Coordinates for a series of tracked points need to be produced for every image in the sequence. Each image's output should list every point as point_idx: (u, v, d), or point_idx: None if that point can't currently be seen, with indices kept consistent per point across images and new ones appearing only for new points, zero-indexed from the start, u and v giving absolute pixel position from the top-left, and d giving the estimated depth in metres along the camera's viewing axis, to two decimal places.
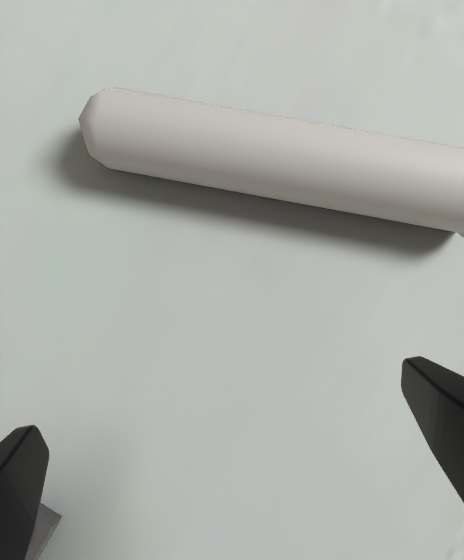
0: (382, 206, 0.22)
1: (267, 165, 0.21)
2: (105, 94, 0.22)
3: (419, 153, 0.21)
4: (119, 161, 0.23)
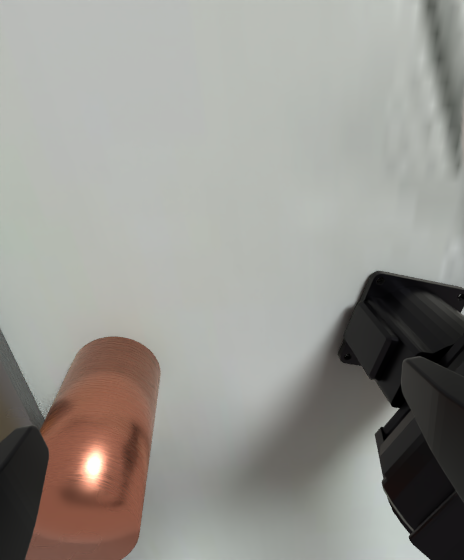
0: None
1: None
2: None
3: None
4: None
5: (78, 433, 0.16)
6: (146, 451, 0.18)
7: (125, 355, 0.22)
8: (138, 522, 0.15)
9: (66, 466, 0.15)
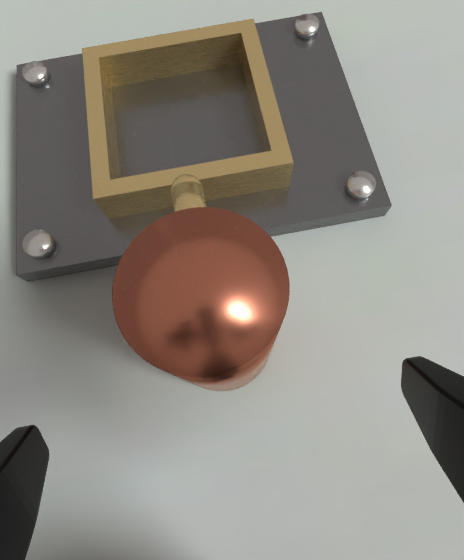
0: None
1: None
2: None
3: None
4: None
5: None
6: (224, 381, 0.14)
7: None
8: (207, 376, 0.11)
9: None
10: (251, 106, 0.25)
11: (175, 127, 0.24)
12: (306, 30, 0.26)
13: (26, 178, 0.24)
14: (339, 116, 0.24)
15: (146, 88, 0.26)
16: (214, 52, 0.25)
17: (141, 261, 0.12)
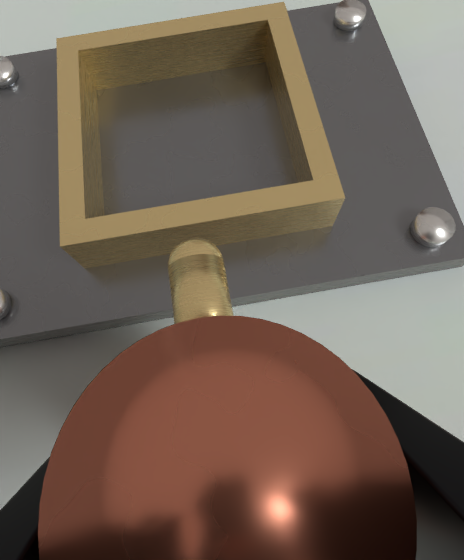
0: None
1: None
2: None
3: None
4: None
5: None
6: None
7: None
8: None
9: None
10: (279, 117, 0.19)
11: (178, 143, 0.18)
12: (349, 20, 0.20)
13: None
14: (397, 131, 0.18)
15: (141, 92, 0.20)
16: (231, 46, 0.19)
17: (103, 434, 0.06)
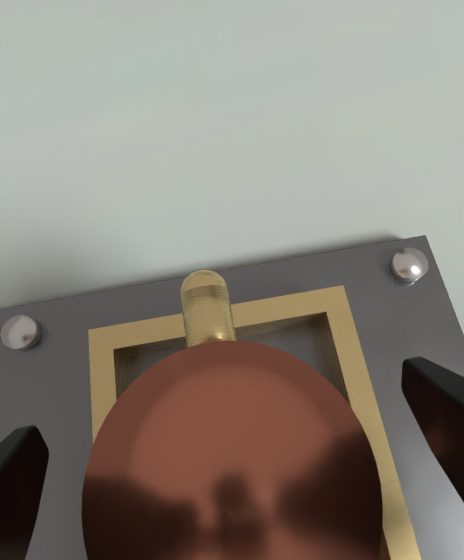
0: None
1: None
2: None
3: None
4: None
5: None
6: None
7: None
8: None
9: None
10: None
11: None
12: (410, 277, 0.18)
13: None
14: None
15: None
16: (282, 324, 0.17)
17: (132, 438, 0.07)
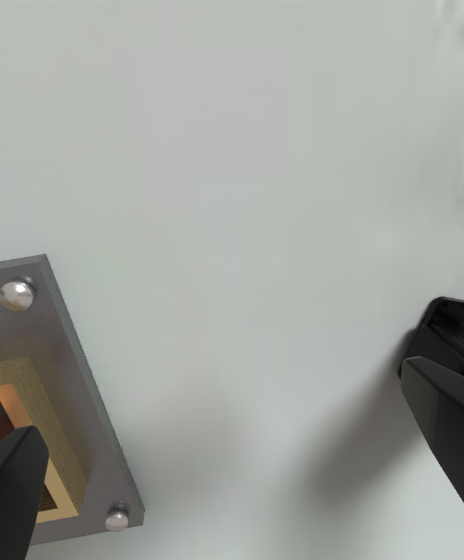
0: None
1: None
2: None
3: None
4: None
5: None
6: None
7: None
8: None
9: None
10: None
11: None
12: None
13: (56, 535, 0.29)
14: None
15: None
16: None
17: None
